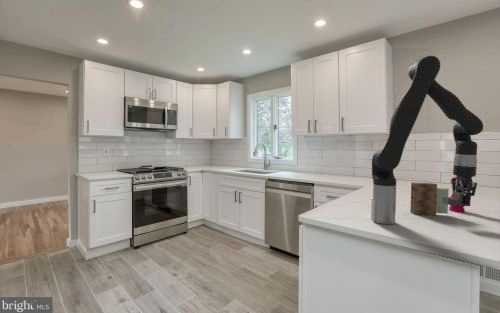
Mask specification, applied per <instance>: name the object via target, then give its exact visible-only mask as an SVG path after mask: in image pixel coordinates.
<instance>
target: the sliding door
mask: <svg viewBox="0 0 500 313" xmlns="http://www.w3.org/2000/svg"><path fill="white" fill-rule="evenodd" d="M443 197H449V188H447V187H446V188H445V187H444V188H443V187H441V188H440V187H439V188H438V187H437V199H436V214H445V215H447V214H448V213H449V212H448V211H449V205H448V204H446V203H444V202H442V200H443Z"/></svg>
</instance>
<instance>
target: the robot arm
mask: <svg viewBox="0 0 500 313" xmlns="http://www.w3.org/2000/svg"><path fill="white" fill-rule="evenodd" d="M440 68H441V62H440V59H439V58H438V57H437V56H436V55H428V56H425V57H424V56H423V57H422V58H421V59H418V60H417V61H416V62H414V63H413V64H411V66H409V68H408V70H407V74H408V77H409V79H410V80H411V83H410V86H409V88H408V89H407V91H406V92H405V93H404V95H403V96H402V97H401V98H400V100H399V102H398V103H397V105H396V106H395V109H394V111H393V113H392V116H391V118H390V123H389V132H388V138H387V139H386V143H385V144H384V146H383V148H382V149H379V150H377V151H375V152H374V153H373V155H372V158H371V177H372V183H373V184H372V185H373V186H372V199H371V205H370V206H371V208H370V209H371V210H370V211H371V213H370V215H371V217H370V219H371V220H372V222H373V223H376V224H382V225H395V224H396V207H397V205H396V204H397V179H396V177H395V175H394V169H396V168H397V167H399V165H400V163H401V160H402V156H403V153H404V149H405V147H406V144H407V141H408V139H409V136H410V135H411V132H412V130H413V128H414V126H415V123H416V121H417V119H418V117H419V115H420V112H421V109H422V106H423V104H424V102H425V100H426V98H427V95H428V96H429V98H431V99H432V100H433V102H434V103H435V104H436V105H437V106H438V108H439V109H440V110H441V111H442V112H443V114H444V115H445V116H446V117H447V119H449V120H452V121H455V123H454V125H453V128H452V134H453V139H454V142H455V143H454V144H455V154H454V157H453V168H452V169H453V170H452V175H453V176H455V177H456V178H453V177H452V178H451V179H452V184H451V189H452V192H453V191H455V192H463V205H469V204H470V205H471V201H470V197H471V198H472V197H475V193H476V191H477V187H478V182H473V177H476V175H477V166H478V165H477V164H478V157H477V154H478V143H477V142H476V141H474V140H472V137H471V136H476V135H478V134H480V133H482V131H483V130H484V124H483V121H482V120H481V119H480V117H478V116H477V115H476V114H474V112H473V111H471V110H468V108H466V106H465V105H464V104H463V102H462V101H461V100H460V98H459V97H458V96H456V94H454V93H453V92H451V91H450V90H448V89H446V87H444V86H442V85H441V84H439V82H438V81H437V80H436V78H437V76H438V75H439V72H440V70H441V69H440ZM456 175H457V176H456Z"/></svg>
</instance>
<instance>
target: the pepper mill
mask: <svg viewBox="0 0 500 313" xmlns="http://www.w3.org/2000/svg"><path fill="white" fill-rule="evenodd" d="M456 177H457V175H455V176H453V177H452V178H456ZM452 178H451V179H450V184H451V185H452ZM453 192H455V191H453V190H452V192H451V195H450V197H453ZM465 207H466V206H460V205H450V206H448V211H451V212H455V213H465V211H466V210H465Z"/></svg>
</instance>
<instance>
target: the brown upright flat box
mask: <svg viewBox="0 0 500 313" xmlns="http://www.w3.org/2000/svg"><path fill="white" fill-rule="evenodd" d="M437 188H438V183H434V182H415V181H414V182H411V185H410V190H411V191H410V207H409V208H410V214H412V215H419V216H420V215H421V216H437V215H436V214H437V213H436V199H437Z"/></svg>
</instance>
